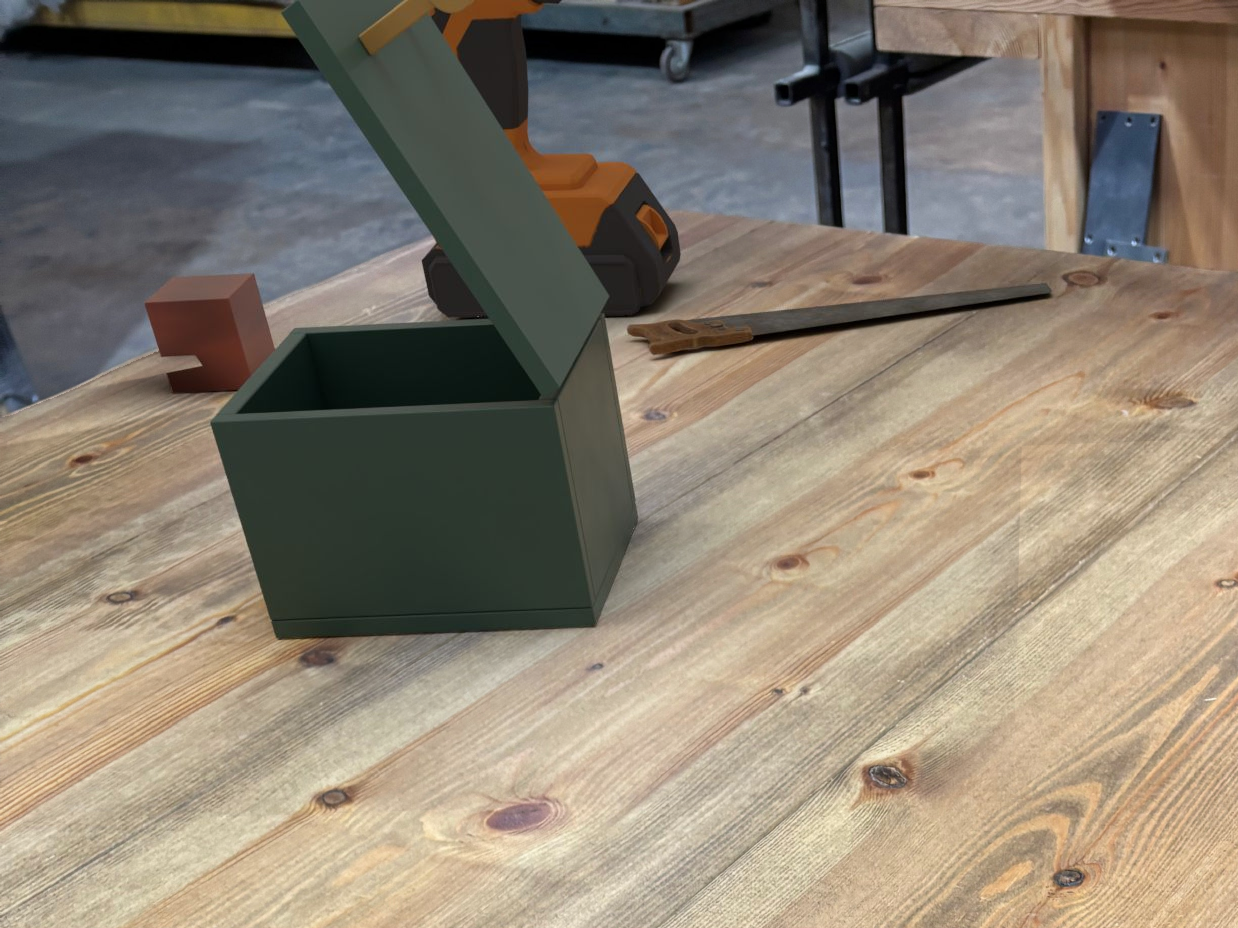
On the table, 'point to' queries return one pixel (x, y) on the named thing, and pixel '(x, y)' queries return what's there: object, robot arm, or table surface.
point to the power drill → (556, 174)
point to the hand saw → (806, 318)
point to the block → (211, 329)
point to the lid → (457, 172)
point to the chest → (427, 481)
